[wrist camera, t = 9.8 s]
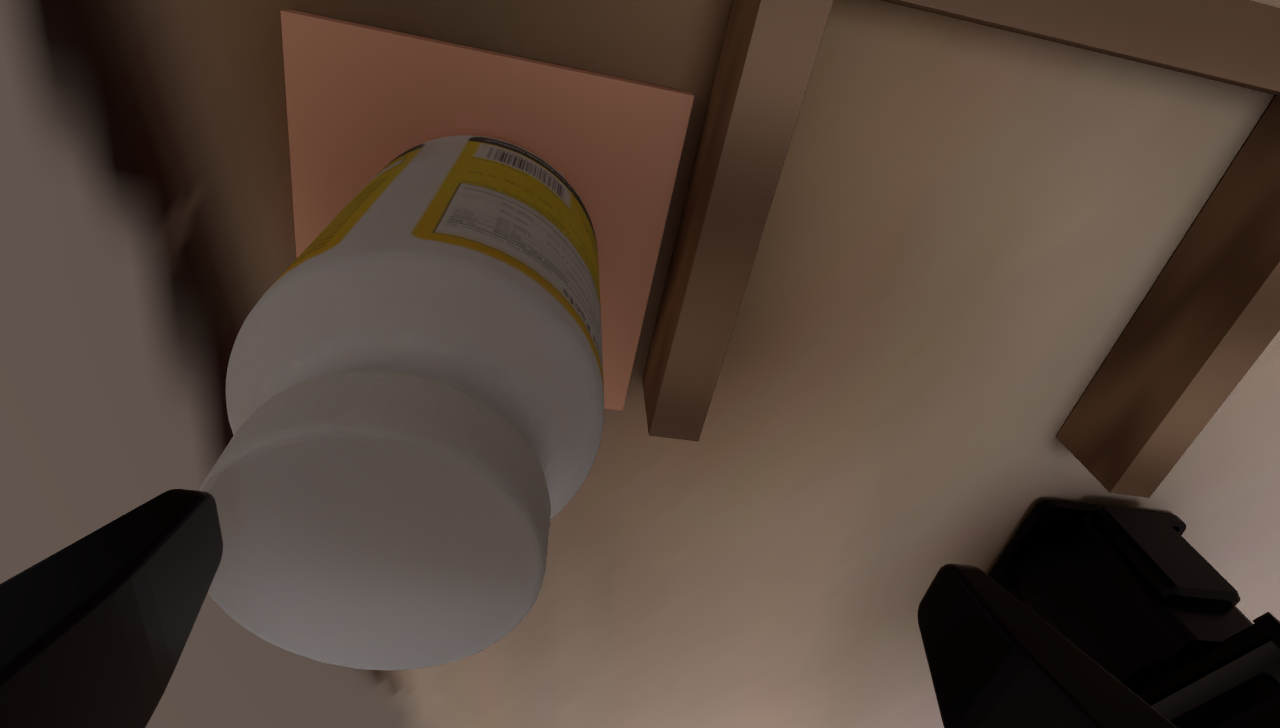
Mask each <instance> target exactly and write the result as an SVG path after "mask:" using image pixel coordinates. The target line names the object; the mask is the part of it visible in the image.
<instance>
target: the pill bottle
mask: <svg viewBox="0 0 1280 728" xmlns="http://www.w3.org/2000/svg"><path fill="white" fill-rule="evenodd" d="M226 403H227V412H228V417H229V422H230V425H231V429H232V432H233V437H232V439H231V441H230V442H229V444H228V445H227V447H226V449H225V450H224V452H223V453H222V455H221V456H220V458H219V459H218V460H217V462H216V463H215V465H214V466H213V468H212V469H211V471H210V472H209V474H208V475H207V477H206V478H205V480H204V482H203V483H202V485H201V487H200V489H199V491H204V492H208V493H210V494H211V495H212V496H213V497H214V498H215V501H216V505H217V511H218V516H219V522H220V528H221V533H222V539H223V553H222V558H221V562H220V564H219V567H218V569H217V572H216V574H215V576H214V579H213V581H212V583H211V586H210V588H209V590H208V593H209V595H210V596H211V597H212V599H214V600H215V602H216V603H217V604H218V605H219V606H220V607H221V608H222V609H223V610H224V611H225V612H226V613H227V614H228V615H229V616H230V617H231V618H233V619H234V620H235V621H236V622H238V623H239V624H240V625H242V626H243V627H245V628H246V629H247V630H249V631H251V632H252V633H254V634H256V635H257V636H258V637H260V638H262V639H264V640H266V641H267V642H269V643H271V644H274V645H276V646H278V647H280V648H283V649H285V650H287V651H290V652H293V653H296V654H299V655H302V656H305V657H308V658H311V659H314V660H317V661H320V662H323V663H328V664H334V665H340V666H345V667H350V668H356V669H368V670H408V669H418V668H424V667H431V666H436V665H440V664H444V663H449V662H452V661H456V660H459V659H462V658H465V657H467V656H470V655H473V654H475V653H477V652H479V651H482V650H484V649H486V648H487V647H489V646H491V645H492V644H494V643H496V642H498V641H499V640H500V639H501V638H503V637H504V636H505V635H506V634H508V633H509V632H510V631H512V630H513V629H514V628H515V627H516V626H517V625H518V624H519V623H520V622H521V621H522V620H523V618H524V617H525V616H526V614H527V613H528V612H529V610H530V609H531V607H532V606H533V604H534V602H535V600H536V598H537V596H538V594H539V591H540V589H541V586H542V582H543V578H544V573H545V569H546V557H547V546H548V535H549V527H550V520H551V519H552V518H553V517H554V516H555V515H557V514H558V513H559V512H560V511H561V510H562V509H563V508H564V507H565V506H566V505H567V503H568V502H569V501H570V500H571V499H572V498H573V496H574V495H575V494H576V493H577V491H578V490H579V488H580V487H581V485H582V484H583V482H584V481H585V479H586V477H587V475H588V473H589V471H590V469H591V467H592V465H593V463H594V460H595V458H596V455H597V452H598V449H599V445H600V441H601V436H602V430H603V421H604V378H603V353H602V326H601V303H600V282H599V261H598V249H597V241H596V236H595V232H594V229H593V225H592V222H591V219H590V217H589V214H588V212H587V210H586V208H585V206H584V204H583V202H582V200H581V199H580V197H579V195H578V194H577V193H576V191H575V190H574V189H573V187H572V186H571V185H570V183H569V182H568V181H567V180H566V179H565V178H564V177H563V176H562V174H560V173H559V172H558V171H557V170H556V169H555V168H554V167H552V166H551V165H550V164H549V163H547V162H546V161H544V160H543V159H541V158H540V157H539V156H537V155H535V154H534V153H532V152H530V151H528V150H526V149H524V148H522V147H520V146H517V145H515V144H512V143H509V142H507V141H503V140H499V139H495V138H490V137H485V136H473V135H457V136H449V137H442V138H438V139H434V140H430V141H427V142H424V143H422V144H419V145H417V146H415V147H413V148H411V149H409V150H407V151H405V152H404V153H402V154H401V155H399V156H398V157H397V158H395V159H394V160H393V161H391V162H390V163H389V164H388V165H387V166H385V167H384V168H383V169H382V170H381V171H380V172H379V173H378V174H377V175H376V176H375V177H374V178H373V179H372V180H371V181H370V182H369V183H368V184H367V185H366V186H365V187H364V188H363V189H362V191H361V192H360V193H359V194H358V195H357V196H356V197H355V198H354V199H353V200H352V201H351V202H350V203H349V204H348V205H347V206H346V207H345V208H344V209H343V210H342V211H341V212H340V213H339V214H338V215H337V216H336V217H335V218H334V219H333V220H332V221H331V222H330V224H329V225H328V226H327V227H326V228H325V229H324V230H323V231H322V232H321V233H320V234H319V235H318V236H317V237H316V238H315V240H314V241H313V242H312V243H311V244H310V245H309V246H308V247H307V248H306V249H305V250H304V251H303V252H302V254H301V255H300V256H299V257H298V258H297V259H296V260H295V261H294V262H293V263H292V264H291V265H290V266H289V267H288V269H287V270H286V271H285V272H284V273H283V274H282V275H281V276H280V277H279V278H278V279H277V280H276V281H275V282H274V284H273V285H272V286H271V287H270V288H269V289H268V290H267V291H266V292H265V294H264V295H263V296H262V297H261V299H260V300H259V301H258V303H257V304H256V305H255V307H254V308H253V309H252V310H251V312H250V313H249V315H248V316H247V318H246V319H245V321H244V323H243V325H242V327H241V329H240V331H239V333H238V335H237V338H236V340H235V343H234V346H233V349H232V352H231V355H230V359H229V364H228V370H227V376H226Z"/></svg>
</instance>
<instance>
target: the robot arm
mask: <svg viewBox="0 0 1280 728" xmlns="http://www.w3.org/2000/svg"><path fill="white" fill-rule="evenodd" d="M1185 529H1186V525H1185V523H1184V522H1183V521H1182V520H1181V519H1180V518H1179V517H1177V516H1176V515H1173V514H1165V513H1156V512H1149V511H1141V510H1133V509H1124V508H1116V507H1108V506H1099V505H1090V504H1082V503H1074V502H1065V501H1057V500H1045V501H1042V502H1040V503H1038V504H1037V505H1036V506H1035V507H1034V508H1033V510H1032V511H1031V513H1030V514H1029V516H1028V517H1027V519H1026V520H1025V522H1024V523H1023V525H1022V526H1021V528H1020V529H1019V531H1018V532H1017V534H1016V535H1015V537H1014V538H1013V540H1012V541H1011V543H1010V544H1009V546H1008V547H1007V549H1006V550H1005V552H1004V553H1003V555H1002V556H1001V558H1000V559H999V561H998V562H997V564H996V565H995V567H994V568H993V570H992V571H991V573H990V574H989V576H988V575H987V574H986V573H984V572H983V571H982V570H980V569H979V568H977V567H974V566H968V565H958V564H946V565H944V566H943V567H941V568H940V570H939V571H938V573H937V575H936V576H935V578H934V580H933V581H932V583H931V585H930V587H929V588H928V590H927V592H926V593H925V595H924V597H923V599H922V600H921V602H920V604H919V608H918V624H919V628H920V632H921V636H922V640H923V644H924V648H925V652H926V656H927V661H928V665H929V669H930V673H931V677H932V681H933V685H934V689H935V693H936V697H937V701H938V705H939V709H940V713H941V717H942V721H943V725H944V728H1280V621H1279V620H1278V619H1276V618H1275V617H1274V616H1273V615H1272V614H1271V613H1269V612H1267V613H1265V614H1263V615H1262V616H1260V617H1258V618H1256V619H1255V620H1253V622H1254V624H1252V623H1251V622H1250V621H1249V620H1248V619H1247V618H1246V617H1245V615H1244V614H1243V613H1242V612H1241V611H1240V610H1239V609H1238V608H1237V607H1236V606H1235V605H1236V604H1237V603H1238V602H1239V601H1240V597H1239V594H1238V592H1237V591H1236V590H1235V589H1234V588H1233V587H1232V586H1231V585H1230V584H1229V583H1228V582H1227V581H1226V580H1225V579H1224V578H1223V577H1222V576H1221V575H1220V574H1219V573H1218V572H1217V571H1216V570H1215V569H1214V568H1213V567H1212V566H1211V565H1210V564H1209V563H1208V562H1207V561H1206V560H1205V559H1204V558H1203V557H1202V556H1201V555H1200V554H1199V553H1198V552H1197V551H1196V550H1195V549H1194V548H1193V547H1192V546H1191V545H1190V544H1189V543H1188V542H1187V541H1186V540H1185V539H1184V538H1183V537H1182V536H1181V535H1182V534H1183V532H1184V531H1185ZM222 553H223V539H222V533H221V528H220V522H219V516H218V511H217V505H216V501H215V498H214V497H213V496H212V495H211V494H210V493H208V492H204V491H193V490H183V489H172V490H169V491H167V492H164V493H162V494H160V495H159V496H157V497H155V498H153V499H151V500H150V501H148V502H146V503H144V504H143V505H141V506H139V507H137V508H135V509H134V510H132V511H130V512H128V513H127V514H125V515H123V516H121V517H119V518H117V519H116V520H114V521H112V522H110V523H109V524H107V525H105V526H103V527H101V528H100V529H98V530H96V531H94V532H93V533H91V534H89V535H87V536H85V537H84V538H82V539H80V540H78V541H76V542H75V543H73V544H71V545H69V546H67V547H66V548H64V549H62V550H61V551H59V552H57V553H55V554H53V555H51V556H50V557H48V558H46V559H44V560H42V561H41V562H39V563H37V564H35V565H33V566H32V567H30V568H28V569H26V570H25V571H23V572H21V573H19V574H18V575H16V576H14V577H12V578H10V579H9V580H7V581H5V582H3V583H1V584H0V728H145V727H146V725H147V724H148V722H149V720H150V718H151V716H152V715H153V713H154V711H155V709H156V707H157V705H158V703H159V701H160V699H161V697H162V696H163V694H164V692H165V689H166V687H167V685H168V683H169V680H170V679H171V676H172V674H173V672H174V670H175V667H176V665H177V663H178V660H179V658H180V656H181V653H182V651H183V649H184V646H185V644H186V642H187V639H188V637H189V635H190V632H191V630H192V628H193V625H194V623H195V621H196V618H197V616H198V613H199V611H200V609H201V607H202V604H203V602H204V600H205V597H206V595H207V593H208V590H209V588H210V586H211V583H212V581H213V579H214V576H215V574H216V572H217V569H218V567H219V564H220V562H221V558H222Z"/></svg>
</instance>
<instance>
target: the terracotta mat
mask: <svg viewBox="0 0 1280 728" xmlns="http://www.w3.org/2000/svg"><path fill="white" fill-rule="evenodd" d="M281 26H282V42H283V57H284V73H285V88H286V104H287V119H288V135H289V150H290V165H291V181H292V196H293V212H294V227H295V243H296V258H298V257H299V256H300V255H301V254H302V252H303V251H304V250H305V249H306V248H307V247H308V246H309V245H310V244H311V243H312V242H313V241H314V240H315V238H316V237H317V236H318V235H319V234H320V233H321V232H322V231H323V230H324V229H325V228H326V227H327V226H328V225H329V224H330V222H331V221H332V220H333V219H334V218H335V217H336V216H337V215H338V214H339V213H340V212H341V211H342V210H343V209H344V208H345V207H346V206H347V205H348V204H349V203H350V202H351V201H352V200H353V199H354V198H355V197H356V196H357V195H358V194H359V193H360V192H361V191H362V189H363V188H364V187H365V186H366V185H367V184H368V183H369V182H370V181H371V180H372V179H373V178H374V177H375V176H376V175H377V174H378V173H379V172H380V171H381V170H382V169H383V168H384V167H385V166H387V165H388V164H389V163H390V162H391V161H393V160H394V159H395V158H397V157H398V156H399V155H401V154H402V153H404V152H405V151H407V150H409V149H411V148H413V147H415V146H417V145H419V144H422V143H424V142H427V141H430V140H434V139H438V138H442V137H449V136H457V135H473V136H485V137H490V138H495V139H499V140H503V141H507V142H509V143H512V144H515V145H517V146H520V147H522V148H524V149H526V150H528V151H530V152H532V153H534V154H535V155H537V156H539V157H540V158H541V159H543V160H544V161H546V162H547V163H549V164H550V165H551V166H552V167H554V168H555V169H556V170H557V171H558V172H559V173H560V174H562V176H563V177H564V178H565V179H566V180H567V181H568V182H569V183H570V185H571V186H572V187H573V189H574V190H575V191H576V193H577V194H578V195H579V197H580V199H581V200H582V202H583V204H584V206H585V208H586V210H587V212H588V214H589V217H590V219H591V222H592V225H593V229H594V232H595V236H596V241H597V249H598V261H599V282H600V303H601V326H602V353H603V378H604V409H610V410H617V411H623V407H624V403H625V398H626V394H627V390H628V385H629V381H630V376H631V372H632V368H633V363H634V359H635V354H636V350H637V346H638V341H639V337H640V333H641V328H642V324H643V319H644V315H645V311H646V306H647V302H648V297H649V293H650V289H651V284H652V280H653V276H654V271H655V267H656V262H657V258H658V254H659V249H660V245H661V240H662V236H663V232H664V227H665V223H666V219H667V214H668V210H669V205H670V201H671V197H672V192H673V188H674V183H675V179H676V175H677V170H678V166H679V162H680V157H681V153H682V148H683V144H684V140H685V135H686V131H687V126H688V122H689V118H690V113H691V109H692V105H693V100H694V95H693V93H691V92H687V91H682V90H677V89H672V88H667V87H662V86H658V85H653V84H648V83H643V82H638V81H633V80H629V79H624V78H619V77H614V76H609V75H604V74H600V73H595V72H590V71H585V70H580V69H575V68H571V67H566V66H561V65H556V64H551V63H546V62H542V61H537V60H532V59H527V58H522V57H517V56H513V55H508V54H503V53H498V52H493V51H488V50H484V49H479V48H474V47H469V46H464V45H459V44H455V43H450V42H445V41H440V40H435V39H430V38H426V37H421V36H416V35H411V34H406V33H401V32H397V31H392V30H387V29H382V28H377V27H373V26H368V25H363V24H358V23H353V22H348V21H344V20H339V19H334V18H329V17H324V16H319V15H315V14H310V13H305V12H300V11H295V10H290V9H287V10H281Z"/></svg>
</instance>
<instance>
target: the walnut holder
mask: <svg viewBox="0 0 1280 728" xmlns="http://www.w3.org/2000/svg"><path fill="white" fill-rule="evenodd" d="M833 1H834V0H733V4H732V8H731V12H730V16H729V20H728V25H727V29H726V33H725V37H724V41H723V45H722V50H721V54H720V58H719V62H718V66H717V71H716V75H715V79H714V83H713V87H712V91H711V96H710V100H709V104H708V108H707V112H706V116H705V121H704V125H703V129H702V133H701V137H700V141H699V146H698V150H697V154H696V158H695V162H694V167H693V171H692V175H691V179H690V183H689V187H688V192H687V196H686V200H685V204H684V208H683V212H682V217H681V221H680V225H679V229H678V233H677V238H676V242H675V246H674V250H673V254H672V258H671V263H670V267H669V271H668V275H667V279H666V283H665V288H664V292H663V296H662V300H661V304H660V309H659V313H658V317H657V321H656V325H655V329H654V334H653V338H652V342H651V346H650V350H649V354H648V359H647V363H646V367H645V371H644V375H643V380H642V381H643V389H644V398H645V406H646V415H647V424H648V432H649V435H650V436H658V437H666V438H675V439H683V440H691V441H699V438H700V434H701V431H702V428H703V424H704V421H705V418H706V415H707V411H708V408H709V405H710V402H711V398H712V395H713V392H714V389H715V385H716V382H717V379H718V376H719V372H720V369H721V366H722V363H723V359H724V356H725V353H726V350H727V346H728V343H729V340H730V336H731V333H732V330H733V327H734V323H735V320H736V317H737V314H738V310H739V307H740V304H741V301H742V297H743V294H744V291H745V288H746V284H747V281H748V278H749V275H750V271H751V268H752V265H753V261H754V258H755V255H756V252H757V248H758V245H759V242H760V239H761V235H762V232H763V229H764V226H765V222H766V219H767V216H768V213H769V209H770V206H771V203H772V200H773V196H774V193H775V190H776V186H777V183H778V180H779V177H780V173H781V170H782V167H783V164H784V160H785V157H786V154H787V151H788V147H789V144H790V141H791V138H792V134H793V131H794V128H795V125H796V121H797V118H798V115H799V112H800V108H801V105H802V102H803V98H804V95H805V92H806V89H807V85H808V82H809V79H810V76H811V72H812V69H813V66H814V63H815V59H816V56H817V53H818V50H819V46H820V43H821V40H822V37H823V33H824V30H825V27H826V23H827V20H828V17H829V14H830V10H831V7H832V4H833ZM882 1H886V2H891V3H895V4H899V5H903V6H907V7H912V8H916V9H920V10H924V11H928V12H932V13H937V14H941V15H945V16H949V17H953V18H957V19H962V20H966V21H970V22H974V23H978V24H983V25H987V26H991V27H995V28H999V29H1003V30H1008V31H1012V32H1016V33H1020V34H1024V35H1028V36H1033V37H1037V38H1041V39H1045V40H1049V41H1054V42H1058V43H1062V44H1066V45H1070V46H1074V47H1079V48H1083V49H1087V50H1091V51H1095V52H1099V53H1104V54H1108V55H1112V56H1116V57H1120V58H1124V59H1129V60H1133V61H1137V62H1141V63H1145V64H1150V65H1154V66H1158V67H1162V68H1166V69H1170V70H1175V71H1179V72H1183V73H1187V74H1191V75H1195V76H1200V77H1204V78H1208V79H1212V80H1216V81H1221V82H1225V83H1229V84H1233V85H1237V86H1241V87H1246V88H1250V89H1254V90H1258V91H1262V92H1266V93H1271V94H1275V95H1276V96H1275V98H1274V99H1273V101H1272V102H1271V104H1270V106H1269V107H1268V109H1267V110H1266V112H1265V113H1264V115H1263V116H1262V118H1261V120H1260V121H1259V123H1258V124H1257V126H1256V127H1255V129H1254V130H1253V132H1252V133H1251V135H1250V137H1249V138H1248V140H1247V141H1246V143H1245V144H1244V146H1243V147H1242V149H1241V151H1240V152H1239V154H1238V155H1237V157H1236V158H1235V160H1234V161H1233V163H1232V165H1231V166H1230V168H1229V169H1228V171H1227V172H1226V174H1225V175H1224V177H1223V178H1222V180H1221V182H1220V183H1219V185H1218V186H1217V188H1216V189H1215V191H1214V192H1213V194H1212V196H1211V197H1210V199H1209V200H1208V202H1207V203H1206V205H1205V206H1204V208H1203V209H1202V211H1201V213H1200V214H1199V216H1198V217H1197V219H1196V220H1195V222H1194V223H1193V225H1192V227H1191V228H1190V230H1189V231H1188V233H1187V234H1186V236H1185V237H1184V239H1183V241H1182V242H1181V244H1180V245H1179V247H1178V248H1177V250H1176V251H1175V253H1174V254H1173V256H1172V258H1171V259H1170V261H1169V262H1168V264H1167V265H1166V267H1165V268H1164V270H1163V272H1162V273H1161V275H1160V276H1159V278H1158V279H1157V281H1156V282H1155V284H1154V286H1153V287H1152V289H1151V290H1150V292H1149V293H1148V295H1147V296H1146V298H1145V299H1144V301H1143V303H1142V304H1141V306H1140V307H1139V309H1138V310H1137V312H1136V313H1135V315H1134V317H1133V318H1132V320H1131V321H1130V323H1129V324H1128V326H1127V327H1126V329H1125V331H1124V332H1123V334H1122V335H1121V337H1120V338H1119V340H1118V341H1117V343H1116V344H1115V346H1114V348H1113V349H1112V351H1111V352H1110V354H1109V355H1108V357H1107V358H1106V360H1105V362H1104V363H1103V365H1102V366H1101V368H1100V369H1099V371H1098V372H1097V374H1096V375H1095V377H1094V379H1093V380H1092V382H1091V383H1090V385H1089V386H1088V388H1087V389H1086V391H1085V393H1084V394H1083V396H1082V397H1081V399H1080V400H1079V402H1078V403H1077V405H1076V407H1075V408H1074V410H1073V411H1072V413H1071V414H1070V416H1069V417H1068V419H1067V420H1066V422H1065V424H1064V425H1063V427H1062V428H1061V430H1060V431H1059V433H1058V434H1057V436H1056V437H1057V438H1058V439H1059V440H1060V441H1061V442H1062V444H1063V445H1064V446H1065V447H1066V448H1067V449H1068V450H1069V451H1070V452H1071V453H1072V454H1073V455H1074V456H1075V457H1076V458H1077V459H1078V460H1079V461H1080V462H1081V463H1082V464H1083V465H1084V466H1085V467H1086V468H1087V469H1088V471H1089V472H1090V473H1091V474H1092V475H1093V476H1094V477H1095V478H1096V479H1097V480H1098V481H1099V482H1100V483H1101V484H1102V485H1103V486H1104V487H1105V488H1106V489H1107V490H1108V491H1109V492H1110V493H1116V494H1124V495H1132V496H1140V497H1148V498H1149V497H1150V496H1151V495H1152V493H1153V492H1154V491H1155V490H1156V488H1157V487H1158V486H1159V484H1160V483H1161V482H1162V481H1163V479H1164V478H1165V477H1166V475H1167V474H1168V473H1169V472H1170V470H1171V469H1172V468H1173V466H1174V465H1175V464H1176V463H1177V461H1178V460H1179V459H1180V457H1181V456H1182V455H1183V454H1184V452H1185V451H1186V450H1187V448H1188V447H1189V446H1190V445H1191V443H1192V442H1193V441H1194V439H1195V438H1196V437H1197V436H1198V434H1199V433H1200V432H1201V430H1202V429H1203V428H1204V427H1205V425H1206V424H1207V423H1208V421H1209V420H1210V419H1211V418H1212V416H1213V415H1214V414H1215V412H1216V411H1217V410H1218V409H1219V407H1220V406H1221V405H1222V403H1223V402H1224V401H1225V400H1226V398H1227V397H1228V396H1229V394H1230V393H1231V392H1232V391H1233V389H1234V388H1235V387H1236V385H1237V384H1238V383H1239V382H1240V380H1241V379H1242V378H1243V376H1244V375H1245V374H1246V373H1247V371H1248V370H1249V369H1250V367H1251V366H1252V365H1253V364H1254V362H1255V361H1256V360H1257V358H1258V357H1259V356H1260V355H1261V353H1262V352H1263V351H1264V349H1265V348H1266V347H1267V346H1268V344H1269V343H1270V342H1271V341H1272V339H1273V338H1274V337H1275V335H1276V334H1277V333H1278V332H1279V330H1280V8H1276V7H1273V6H1269V5H1265V4H1261V3H1257V2H1254V1H1250V0H882Z"/></svg>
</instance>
